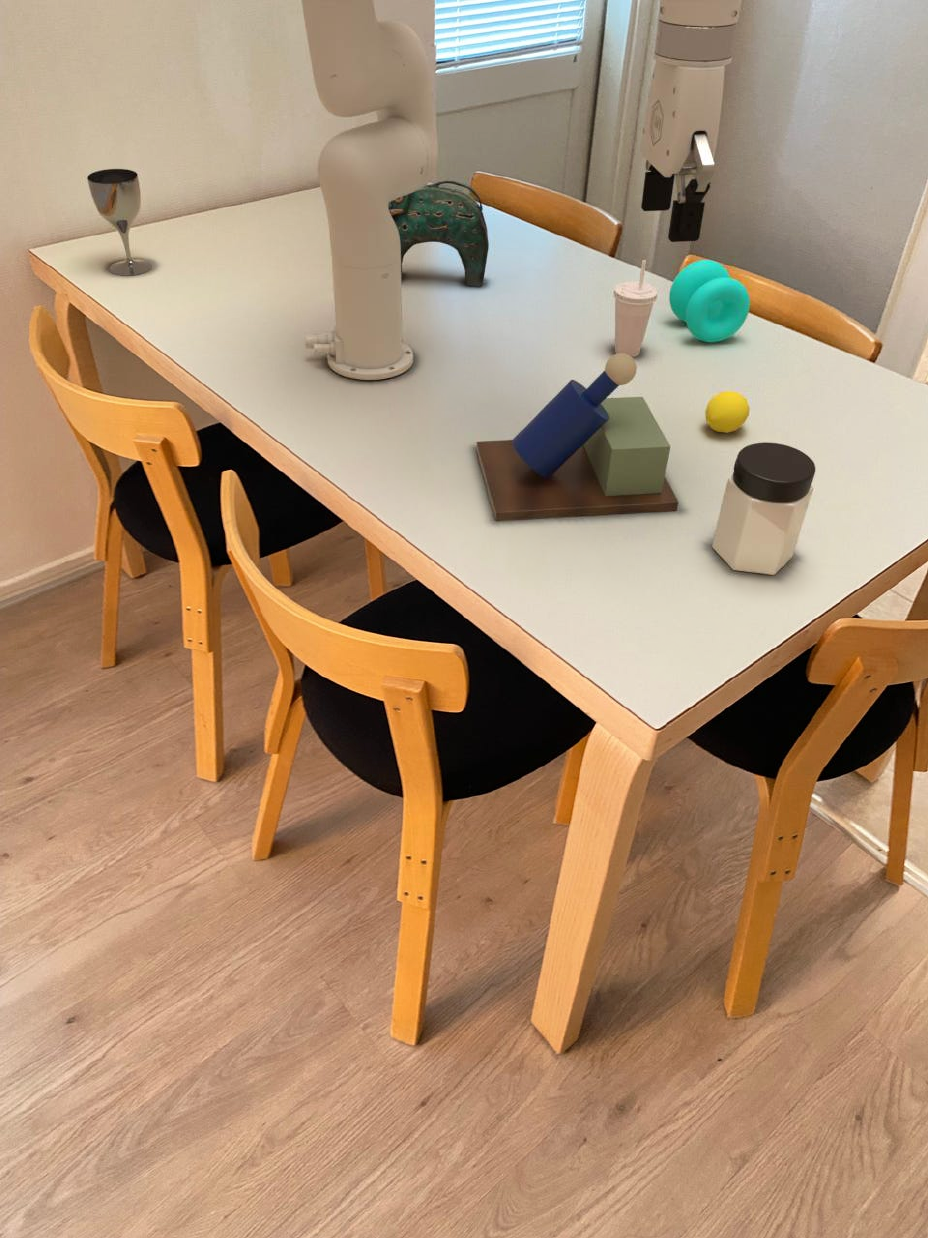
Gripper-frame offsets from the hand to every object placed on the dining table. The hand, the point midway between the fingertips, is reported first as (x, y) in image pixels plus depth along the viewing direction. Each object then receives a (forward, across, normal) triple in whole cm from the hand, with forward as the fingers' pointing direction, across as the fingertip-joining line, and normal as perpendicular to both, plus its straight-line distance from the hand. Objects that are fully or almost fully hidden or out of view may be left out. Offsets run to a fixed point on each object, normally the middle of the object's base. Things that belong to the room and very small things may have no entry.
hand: (668, 224), depth 105 cm
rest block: (+29, +3, -3) cm, 29 cm away
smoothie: (+30, -31, +8) cm, 44 cm away
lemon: (+30, -7, +14) cm, 34 cm away
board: (+30, +3, -9) cm, 31 cm away
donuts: (+30, -37, +22) cm, 52 cm away
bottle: (+28, +3, -10) cm, 30 cm away
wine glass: (+28, -71, -70) cm, 104 cm away
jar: (+30, +20, +8) cm, 37 cm away
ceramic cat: (+29, -62, -19) cm, 71 cm away
